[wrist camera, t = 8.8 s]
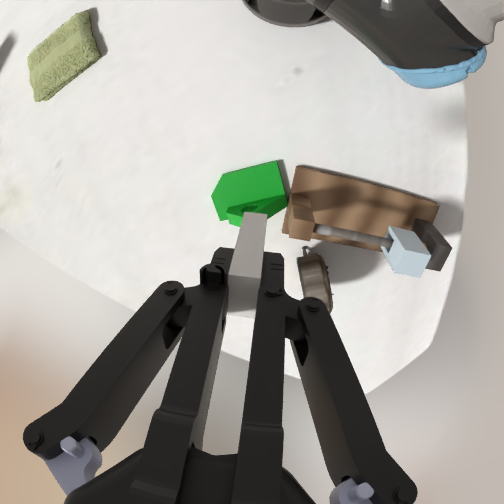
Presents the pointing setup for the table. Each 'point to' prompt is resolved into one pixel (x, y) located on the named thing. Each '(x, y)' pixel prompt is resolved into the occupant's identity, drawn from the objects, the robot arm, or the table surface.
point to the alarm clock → (315, 278)
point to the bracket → (249, 192)
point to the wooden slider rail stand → (359, 214)
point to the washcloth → (62, 57)
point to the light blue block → (406, 252)
